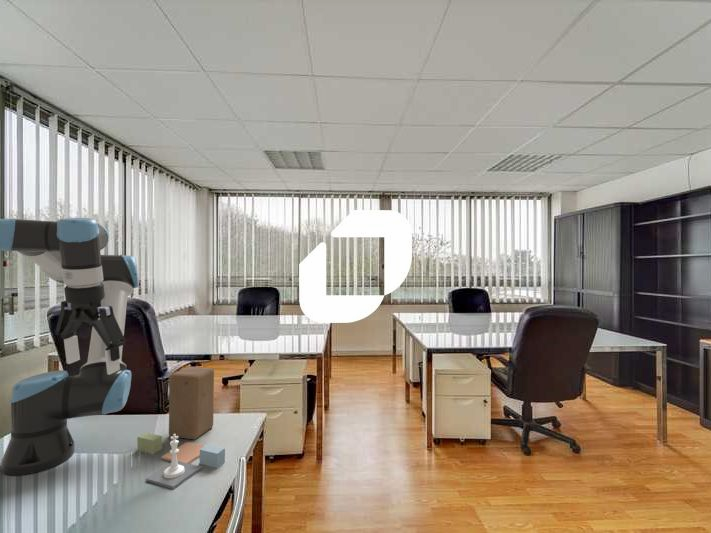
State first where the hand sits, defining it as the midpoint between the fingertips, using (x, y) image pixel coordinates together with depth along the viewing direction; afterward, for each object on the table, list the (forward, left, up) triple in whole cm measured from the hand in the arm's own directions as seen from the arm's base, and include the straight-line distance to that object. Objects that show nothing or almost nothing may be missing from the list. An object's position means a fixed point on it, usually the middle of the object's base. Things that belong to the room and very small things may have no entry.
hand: (93, 366), depth 88 cm
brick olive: (-1, +17, -29) cm, 33 cm away
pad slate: (+16, +10, -29) cm, 35 cm away
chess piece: (+16, +10, -28) cm, 34 cm away
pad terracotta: (+11, +19, -29) cm, 36 cm away
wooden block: (+2, +30, -29) cm, 42 cm away
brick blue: (+21, +18, -29) cm, 40 cm away
